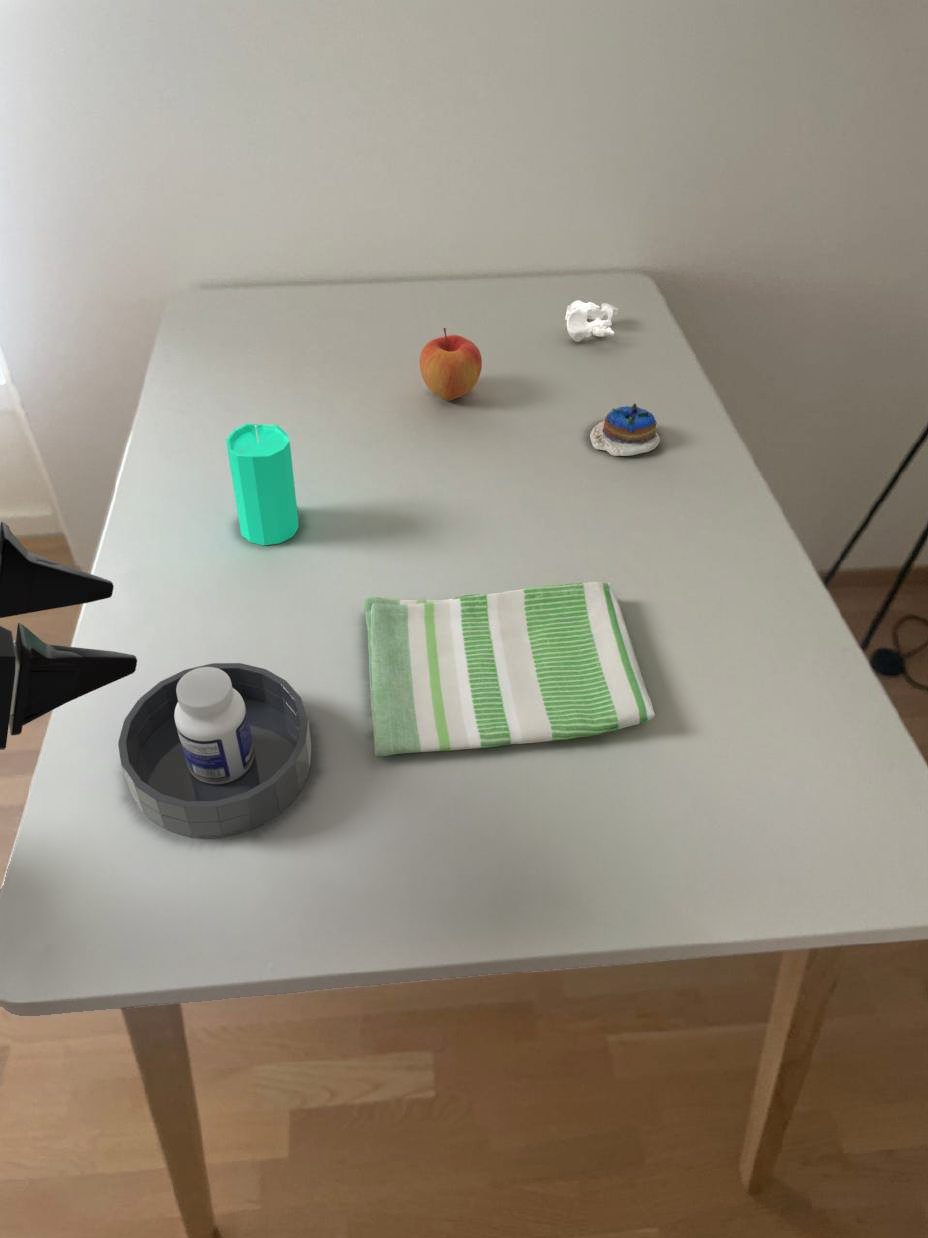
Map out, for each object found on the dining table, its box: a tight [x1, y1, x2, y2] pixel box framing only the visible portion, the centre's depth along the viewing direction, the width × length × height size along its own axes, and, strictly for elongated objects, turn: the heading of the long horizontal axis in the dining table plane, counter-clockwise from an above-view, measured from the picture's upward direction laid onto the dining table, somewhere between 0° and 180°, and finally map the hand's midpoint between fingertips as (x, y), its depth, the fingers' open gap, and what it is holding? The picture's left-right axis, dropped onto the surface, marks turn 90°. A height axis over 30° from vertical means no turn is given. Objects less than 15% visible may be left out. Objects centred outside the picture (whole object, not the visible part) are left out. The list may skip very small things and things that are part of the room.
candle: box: [225, 423, 300, 546], centre depth 95 cm, size 6×6×12 cm
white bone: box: [564, 300, 620, 343], centre depth 129 cm, size 8×4×7 cm
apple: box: [419, 327, 483, 402], centre depth 115 cm, size 7×7×8 cm
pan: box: [117, 662, 313, 839], centre depth 77 cm, size 14×14×4 cm
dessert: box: [589, 402, 661, 457], centre depth 112 cm, size 8×7×6 cm
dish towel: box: [363, 581, 656, 757], centre depth 85 cm, size 18×23×3 cm
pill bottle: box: [174, 667, 254, 784], centre depth 75 cm, size 5×5×9 cm
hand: (123, 624), depth 63 cm, fingers open, 9 cm apart
